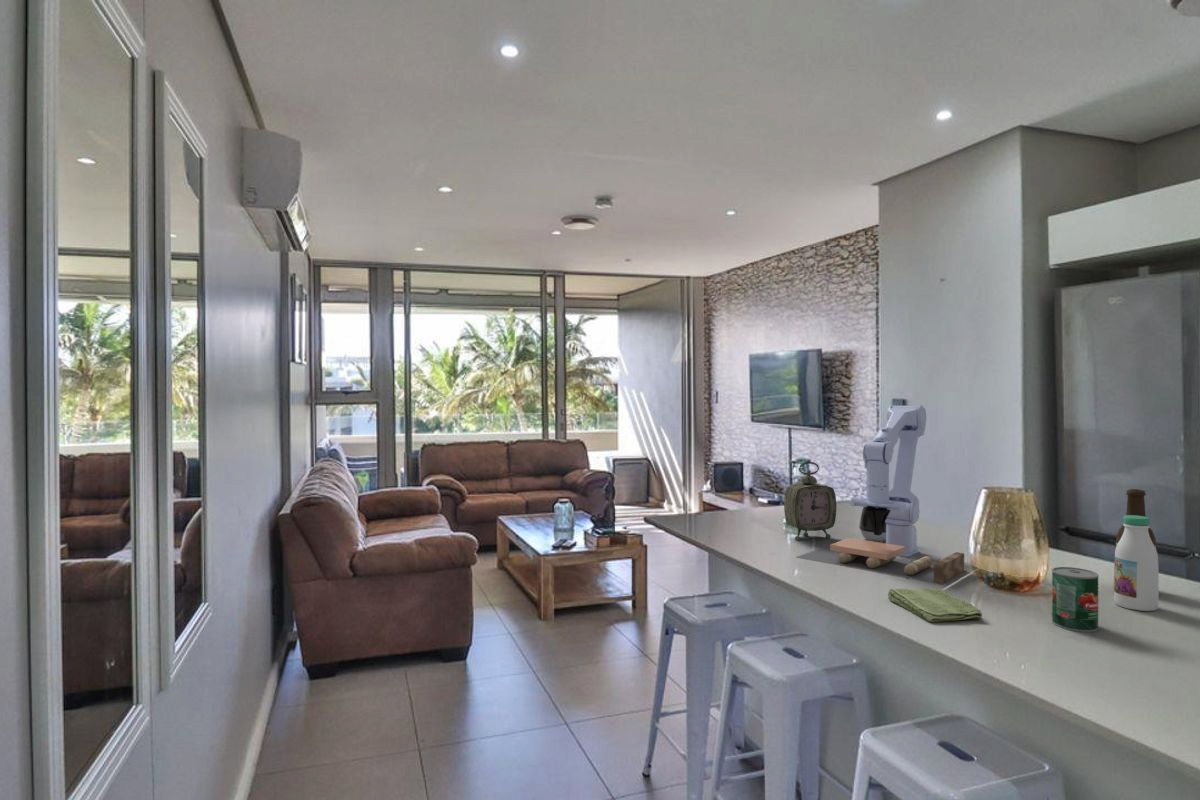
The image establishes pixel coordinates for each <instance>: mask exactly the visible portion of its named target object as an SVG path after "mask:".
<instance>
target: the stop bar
mask: <svg viewBox="0 0 1200 800" xmlns="http://www.w3.org/2000/svg"><path fill="white" fill-rule="evenodd" d="M933 565H934V582H937V583H944V582H946V581H948V580H949V579H951V578H953V577H954V576H956V575H958V574H960V573H961V572H963V571H964V570H965V553H964V552H958V551H957V552H954V553H952V554H950V555H947V556H945V557H943V558H941V559H940V560H938V561H935V562H933Z"/></svg>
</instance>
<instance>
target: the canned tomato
mask: <svg viewBox="0 0 1200 800" xmlns="http://www.w3.org/2000/svg"><path fill="white" fill-rule="evenodd" d="M1051 571H1052V573H1051V574H1052V576H1051V579H1052V580H1051V583H1052V586H1051V591H1052V593H1051V594H1052V595H1051V596H1052V597H1051V599H1052V600H1051V602H1052V604H1051V607H1052V608H1051V609H1052V611H1051V615H1052V616H1051V619H1052V620H1051V622H1052V624H1053V625H1055V626H1056V627H1059V628H1061V629H1064V630H1067V631H1068V630H1069V631H1074V632H1080V633H1081V632H1082V633H1092V632H1093V633H1094V632H1097V631H1098V630H1099V574H1098V573H1097V572H1095V571H1092V570H1090V569H1087V568H1086V569H1085V568H1080V567H1071V566H1057V567H1053V568H1051Z"/></svg>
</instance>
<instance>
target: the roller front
mask: <svg viewBox="0 0 1200 800" xmlns="http://www.w3.org/2000/svg"><path fill="white" fill-rule="evenodd" d="M895 558H897V556H895V557H892V558H890V559H888V560H885V559H879V558H873V557H870V558H868V559H867V561H866V564H867V566H868V567H869V568H872V569H873V568H876V567H879V566H881V565H883V564H885V563H887V562H890V561H892V560H894V559H895Z"/></svg>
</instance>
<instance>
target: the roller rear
mask: <svg viewBox="0 0 1200 800" xmlns="http://www.w3.org/2000/svg"><path fill="white" fill-rule="evenodd" d="M859 557H862V555H856V554H850V553H844V552H841V553H840V554H839V555H838V560H839V561H840V562H841V563H847V562H850V561H852V560H855V559H857V558H859Z"/></svg>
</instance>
